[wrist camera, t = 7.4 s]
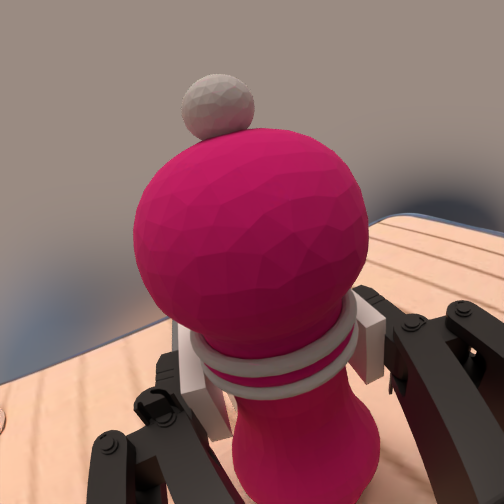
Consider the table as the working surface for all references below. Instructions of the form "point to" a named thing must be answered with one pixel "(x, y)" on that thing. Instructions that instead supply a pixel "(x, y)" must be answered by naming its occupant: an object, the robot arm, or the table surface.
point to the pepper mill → (266, 291)
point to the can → (2, 420)
